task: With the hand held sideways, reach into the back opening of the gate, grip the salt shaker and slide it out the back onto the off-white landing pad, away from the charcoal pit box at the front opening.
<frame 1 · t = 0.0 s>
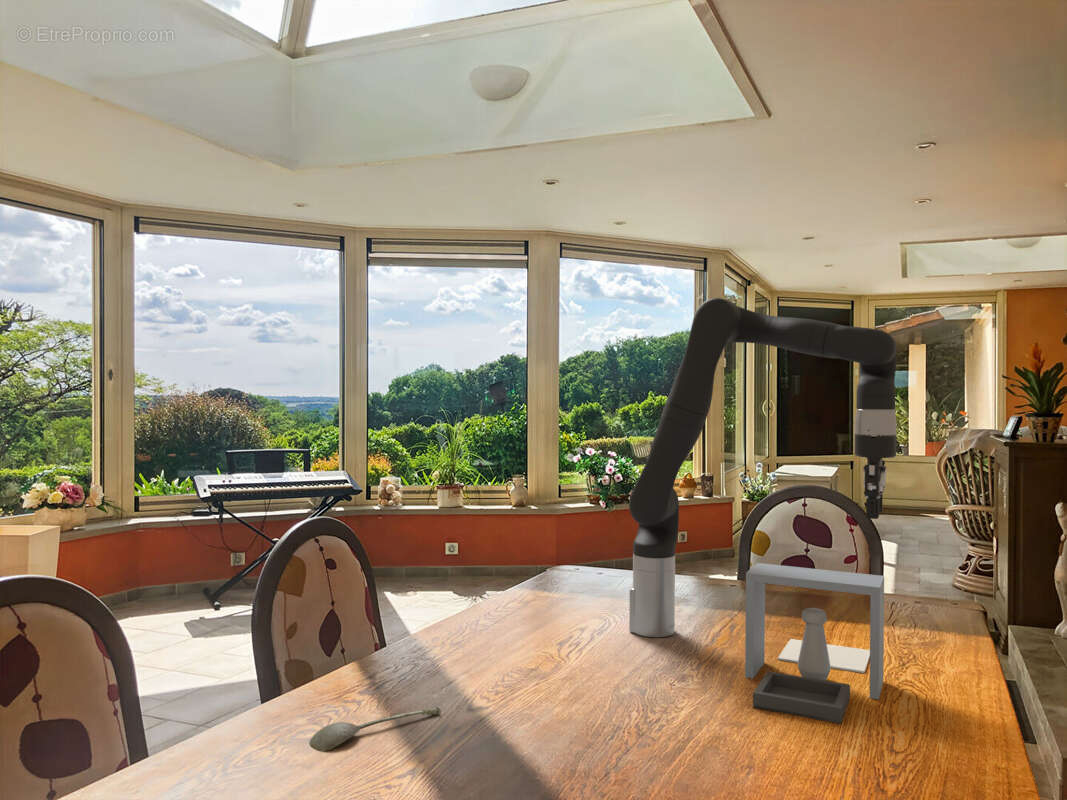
hand: (874, 515, 157), 29 cm above the table, tool pointing down, fingers open, 8 cm apart
landing pad: (825, 656, 162), on the table
gate: (813, 679, 149), on the table
pit box: (802, 703, 138), on the table
soupspoon: (377, 733, 126), on the table
salt shaker: (813, 680, 149), on the table
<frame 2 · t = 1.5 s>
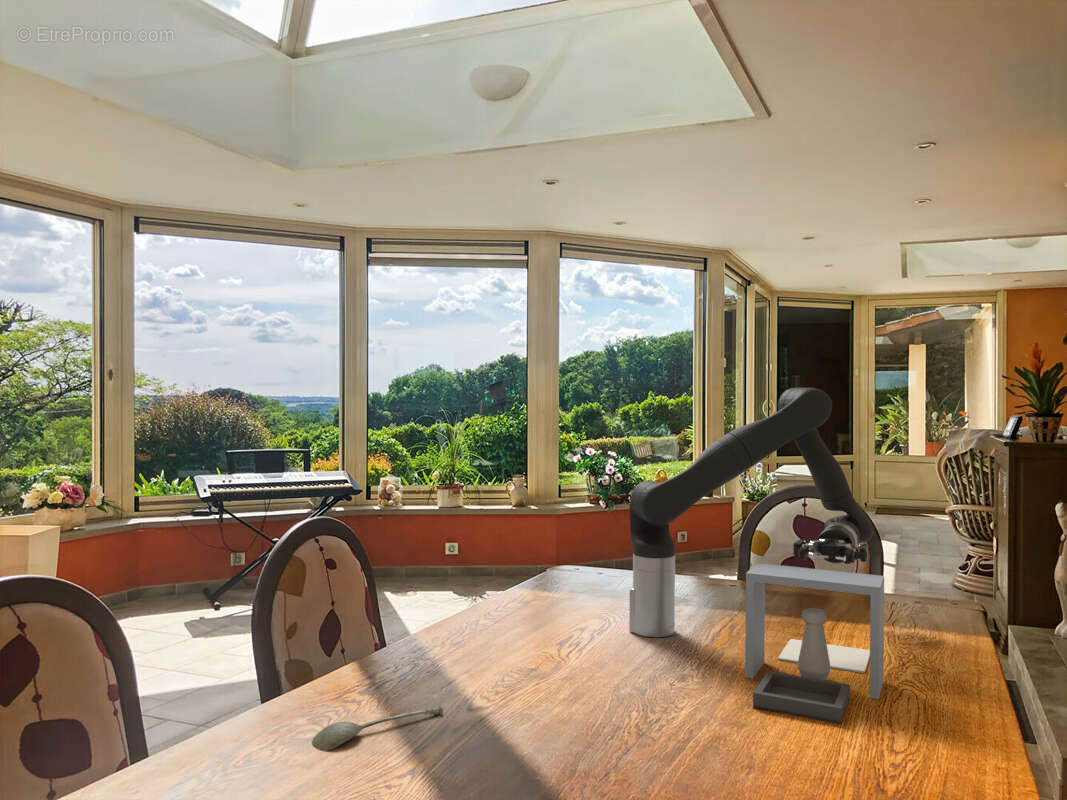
hand: (825, 556, 161), 20 cm above the table, tool horizontal, fingers open, 8 cm apart
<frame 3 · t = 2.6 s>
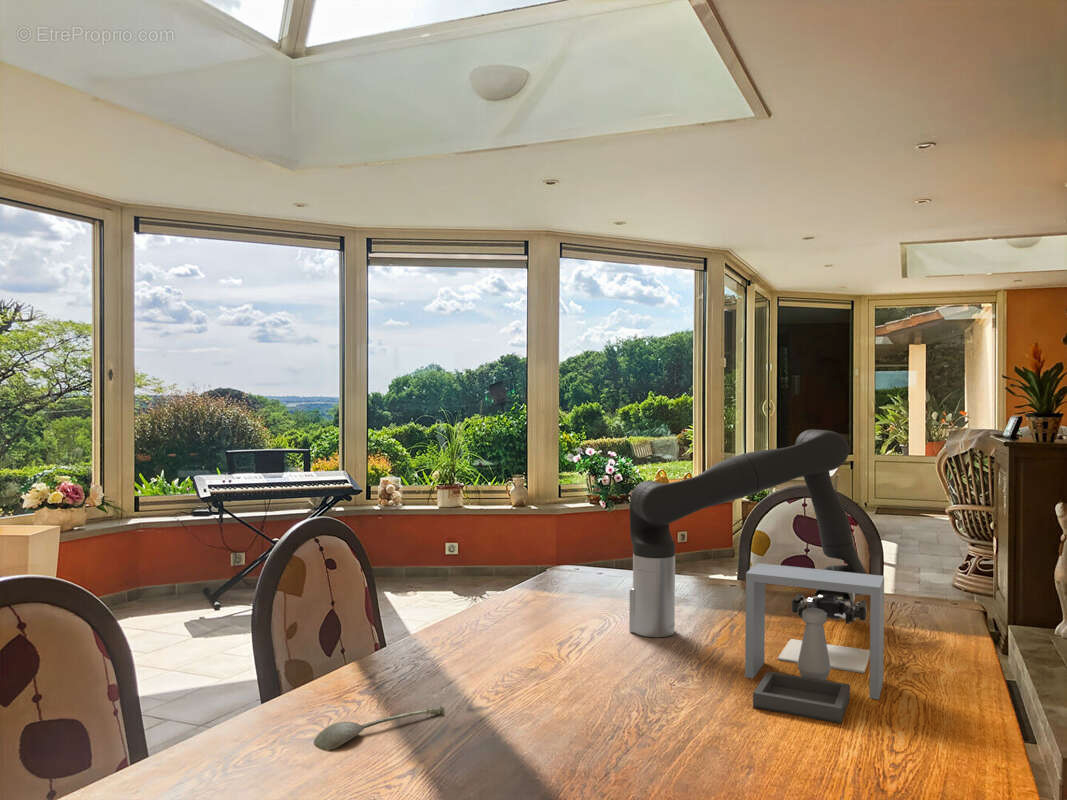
hand: (824, 615, 159), 9 cm above the table, tool horizontal, fingers open, 8 cm apart
nothing on the table moved.
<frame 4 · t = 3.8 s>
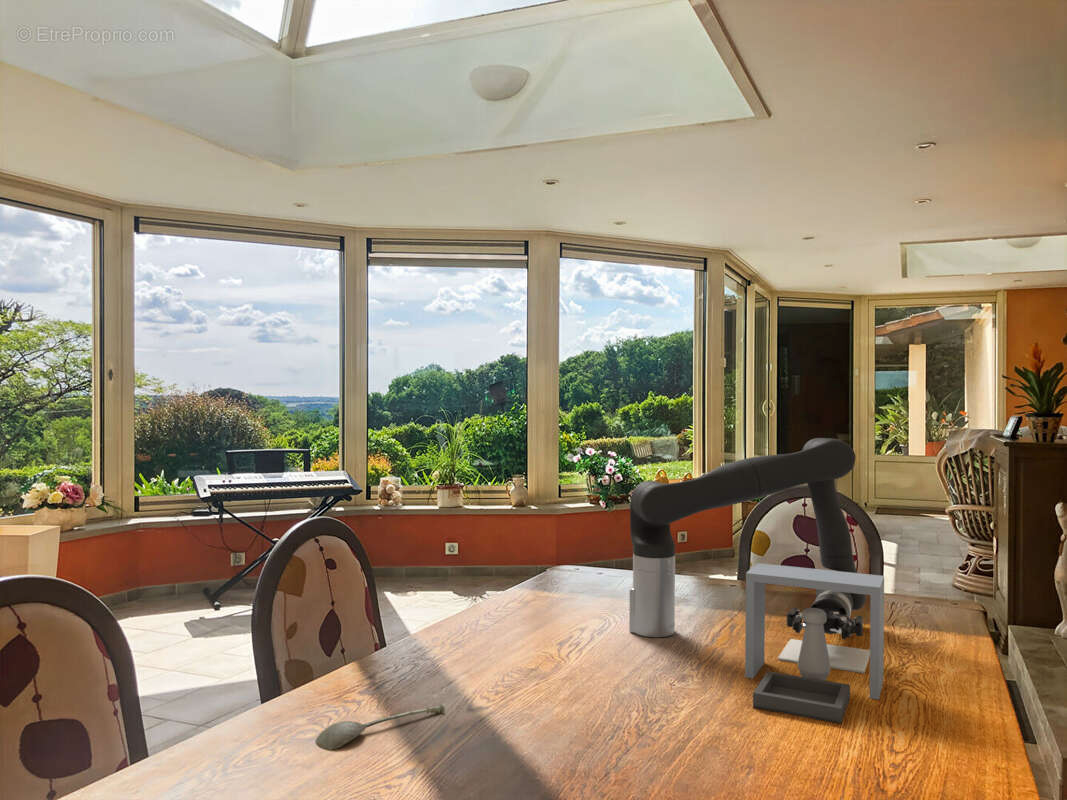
hand: (820, 631, 156), 7 cm above the table, tool horizontal, fingers open, 8 cm apart
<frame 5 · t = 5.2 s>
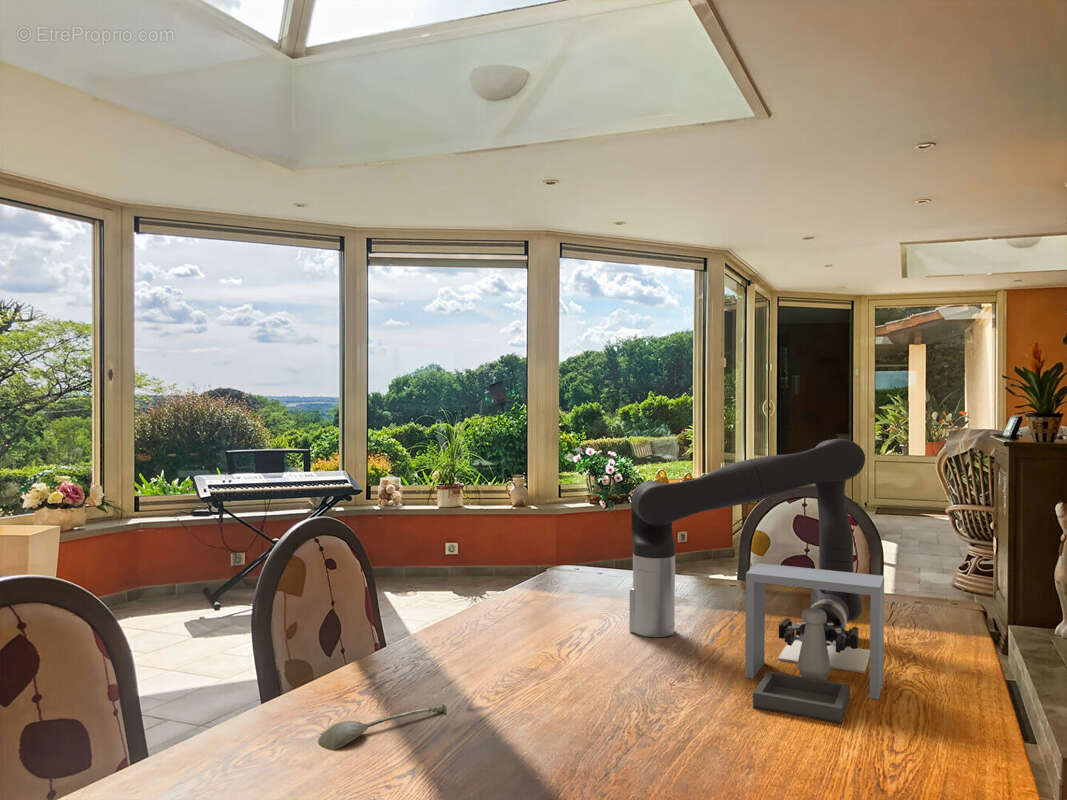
hand: (813, 643, 148), 7 cm above the table, tool horizontal, fingers open, 8 cm apart
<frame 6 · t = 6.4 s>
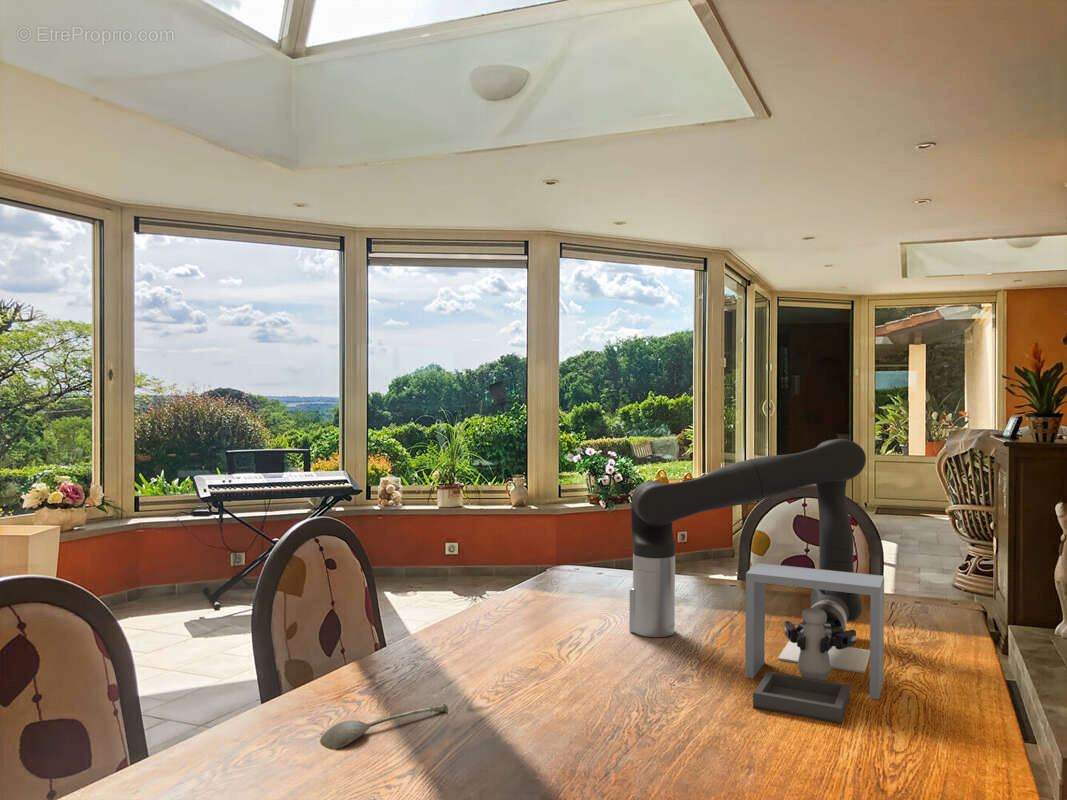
hand: (812, 646, 146), 7 cm above the table, tool horizontal, fingers closed on salt shaker, 3 cm apart
salt shaker: (813, 680, 149), on the table, touching gripper
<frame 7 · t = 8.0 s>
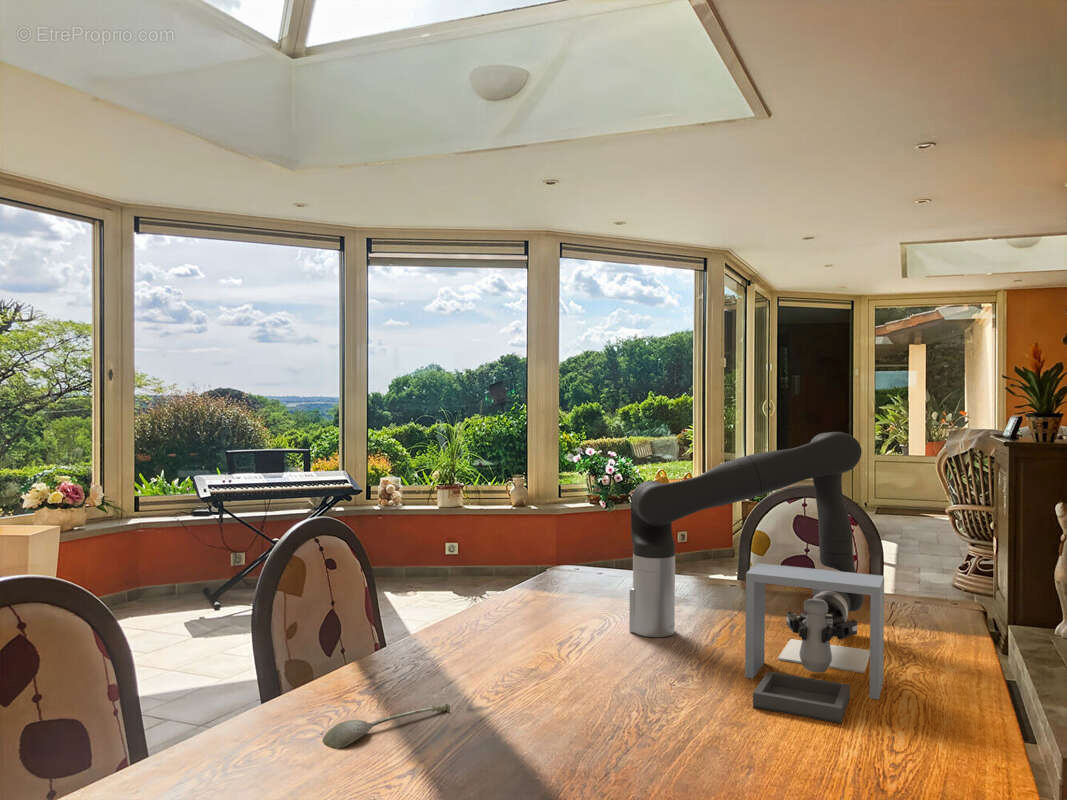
hand: (813, 635, 149), 8 cm above the table, tool horizontal, fingers closed on salt shaker, 3 cm apart
salt shaker: (815, 669, 152), point 1 cm above the table, touching gripper
when the fingers open (8 cm above the table, at t = 11.0 s): salt shaker stays where it is, resting on landing pad.
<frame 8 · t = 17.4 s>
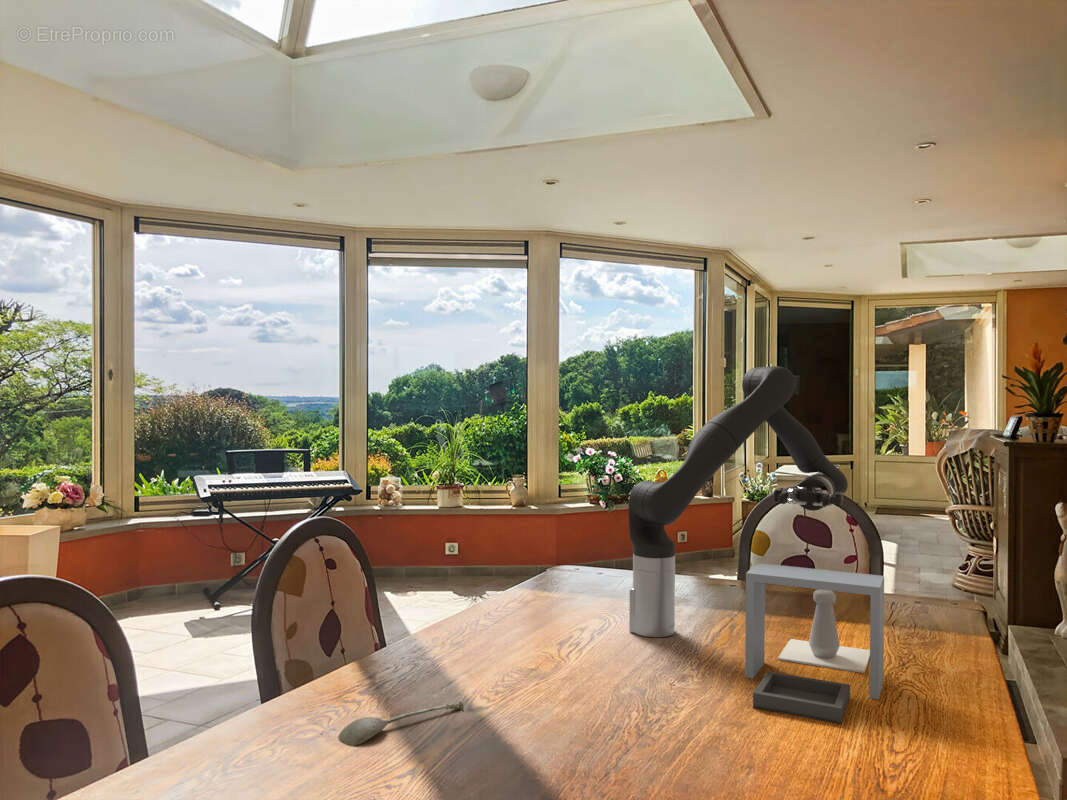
hand: (803, 500, 173), 30 cm above the table, tool horizontal, fingers open, 8 cm apart
soupspoon: (404, 728, 128), on the table
salt shaker: (824, 656, 162), resting on landing pad
at the end: salt shaker inside the target area (0.9 cm from its centre), resting on landing pad; salt shaker tilted 0°; the gripper is holding nothing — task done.
